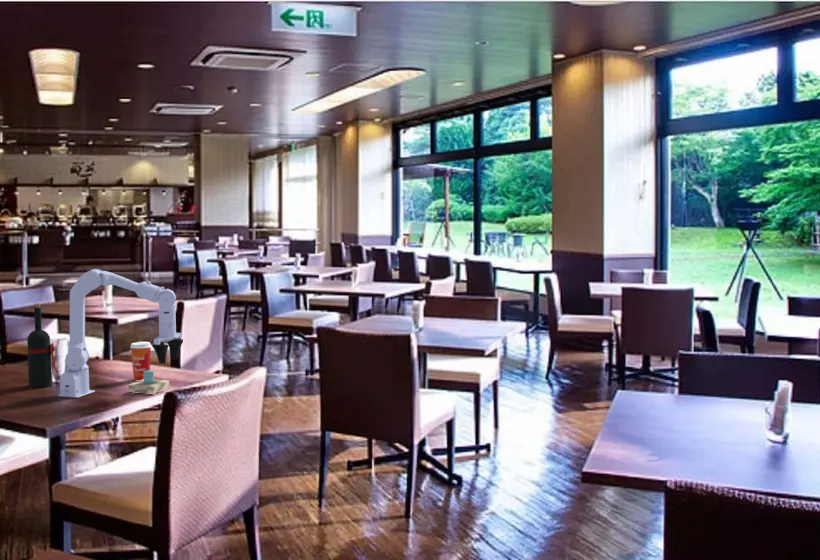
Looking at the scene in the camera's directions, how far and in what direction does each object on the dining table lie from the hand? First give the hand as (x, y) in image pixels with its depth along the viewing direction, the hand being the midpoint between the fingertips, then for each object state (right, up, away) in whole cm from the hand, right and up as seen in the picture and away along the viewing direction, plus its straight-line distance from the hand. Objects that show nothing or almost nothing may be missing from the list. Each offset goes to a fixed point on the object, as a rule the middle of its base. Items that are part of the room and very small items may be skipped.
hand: (168, 361), depth 281 cm
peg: (-7, -11, 0) cm, 12 cm away
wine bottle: (-47, -10, +6) cm, 49 cm away
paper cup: (-15, -9, +17) cm, 25 cm away
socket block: (-7, -10, 0) cm, 12 cm away
